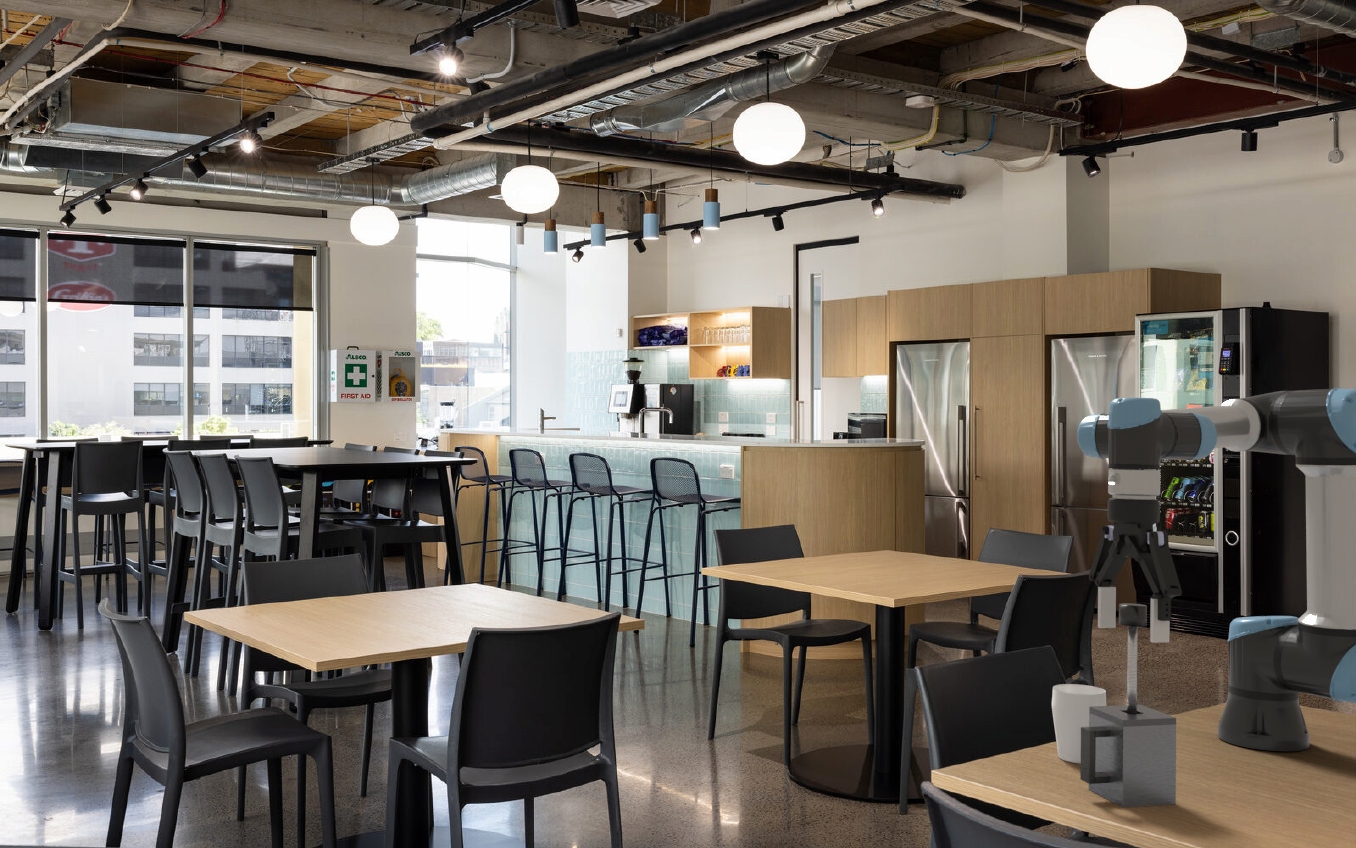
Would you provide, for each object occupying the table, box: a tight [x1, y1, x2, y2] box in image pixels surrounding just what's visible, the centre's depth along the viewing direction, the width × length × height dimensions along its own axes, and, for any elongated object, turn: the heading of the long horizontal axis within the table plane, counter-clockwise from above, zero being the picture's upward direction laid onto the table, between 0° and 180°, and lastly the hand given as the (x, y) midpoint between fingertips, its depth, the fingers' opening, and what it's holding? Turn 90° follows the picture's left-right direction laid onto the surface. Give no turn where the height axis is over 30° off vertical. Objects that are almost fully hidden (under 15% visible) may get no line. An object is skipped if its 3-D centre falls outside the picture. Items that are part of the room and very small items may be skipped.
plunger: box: [1118, 602, 1148, 714], centre depth 178 cm, size 6×6×20 cm
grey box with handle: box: [1080, 704, 1177, 808], centre depth 177 cm, size 12×9×13 cm
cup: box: [1051, 683, 1108, 765], centre depth 199 cm, size 9×9×12 cm
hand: (1132, 635), depth 178 cm, fingers open, 13 cm apart
